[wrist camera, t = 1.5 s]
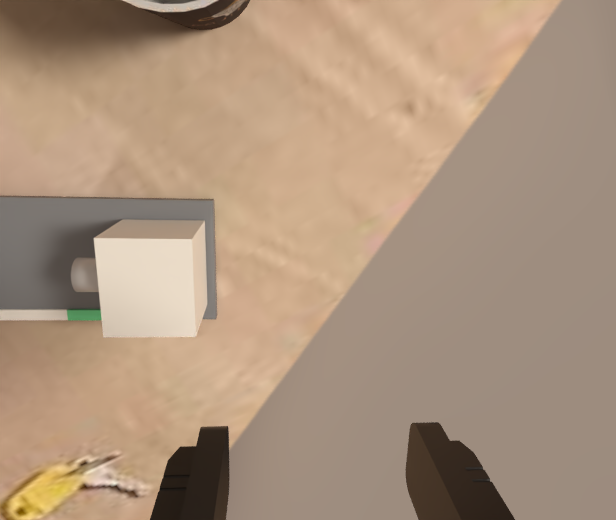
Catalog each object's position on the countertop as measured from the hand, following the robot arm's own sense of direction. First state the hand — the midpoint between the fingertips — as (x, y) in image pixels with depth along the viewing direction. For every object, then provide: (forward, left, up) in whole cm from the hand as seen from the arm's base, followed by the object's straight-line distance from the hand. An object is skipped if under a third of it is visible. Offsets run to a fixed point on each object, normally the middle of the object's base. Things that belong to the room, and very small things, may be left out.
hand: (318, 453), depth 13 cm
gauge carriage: (-9, -1, -19) cm, 21 cm away
